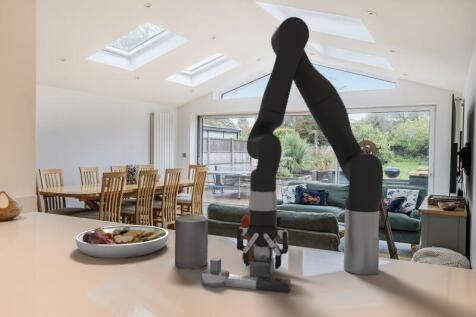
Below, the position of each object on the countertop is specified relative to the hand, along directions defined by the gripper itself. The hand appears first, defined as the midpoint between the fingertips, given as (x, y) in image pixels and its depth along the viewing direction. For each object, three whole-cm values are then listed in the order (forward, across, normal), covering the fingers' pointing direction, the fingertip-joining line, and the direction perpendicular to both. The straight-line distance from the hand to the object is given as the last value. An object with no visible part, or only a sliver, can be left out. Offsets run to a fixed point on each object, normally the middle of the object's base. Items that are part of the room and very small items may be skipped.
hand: (262, 266), depth 107 cm
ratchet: (+2, +2, +10) cm, 10 cm away
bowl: (+3, +51, -13) cm, 53 cm away
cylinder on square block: (+2, 0, 0) cm, 2 cm away
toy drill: (+2, +1, -12) cm, 12 cm away
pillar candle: (+2, +22, -3) cm, 22 cm away
